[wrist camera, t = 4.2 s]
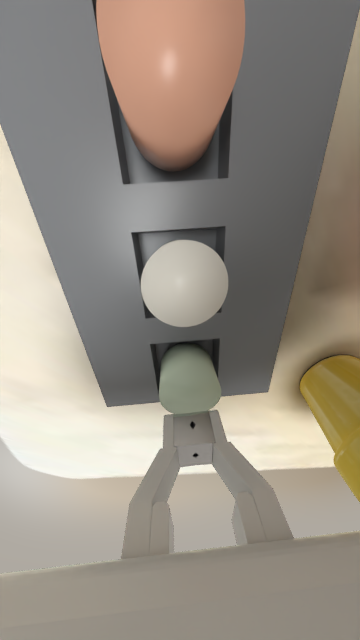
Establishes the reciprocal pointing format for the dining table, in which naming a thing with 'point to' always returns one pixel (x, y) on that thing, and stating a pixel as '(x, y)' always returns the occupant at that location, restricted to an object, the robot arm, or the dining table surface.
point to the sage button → (188, 380)
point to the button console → (173, 183)
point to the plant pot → (338, 411)
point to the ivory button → (184, 283)
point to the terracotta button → (172, 71)
